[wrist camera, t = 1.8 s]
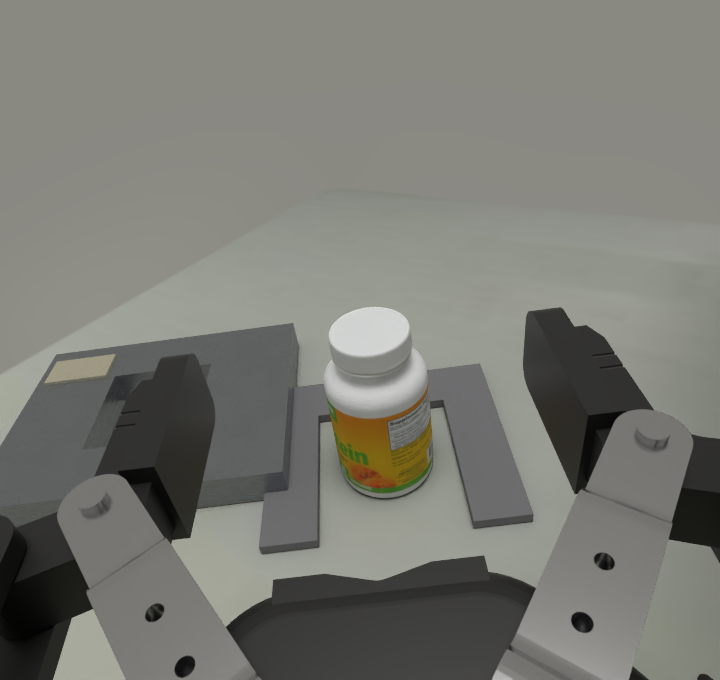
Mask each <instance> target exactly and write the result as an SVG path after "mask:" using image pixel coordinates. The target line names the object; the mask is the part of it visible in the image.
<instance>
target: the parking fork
mask: <svg viewBox="0 0 720 680" xmlns="http://www.w3.org/2000/svg"><path fill="white" fill-rule="evenodd" d="M427 373H428V382H429V398H430V408H435V407H443V406H444V410H445V414H446V418H447V422H448V426H449V430H450V434H451V438H452V442H453V446H454V450H455V454H456V458H457V462H458V466H459V470H460V474H461V478H462V482H463V486H464V490H465V494H466V498H467V502H468V506H469V510H470V514H471V518H472V523H473V527H474V528H481V527H489V526H498V525H506V524H514V523H523V522H531V521H533V512H532V509H531V506H530V503H529V500H528V497H527V495H526V492H525V489H524V486H523V483H522V481H521V478H520V475H519V472H518V469H517V467H516V464H515V461H514V458H513V455H512V452H511V450H510V447H509V444H508V441H507V438H506V436H505V433H504V430H503V427H502V424H501V422H500V419H499V416H498V413H497V410H496V408H495V405H494V402H493V399H492V396H491V393H490V391H489V388H488V385H487V382H486V379H485V377H484V374H483V371H482V368H481V365H480V364H473V365H465V366H457V367H449V368H442V369H434V370H427ZM325 421H331V417H330V412H329V407H328V403H327V398H326V394H325V388H324V384H318V385H310V386H303V387H295V388H294V403H293V419H292V436H291V453H290V469H289V486H288V490H286V491H278V492H269V493H265V494H264V504H263V514H262V524H261V534H260V543H259V548H260V551H261V553H262V554H265V553H274V552H282V551H290V550H298V549H307V548H315V547H319V481H320V422H325Z"/></svg>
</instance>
